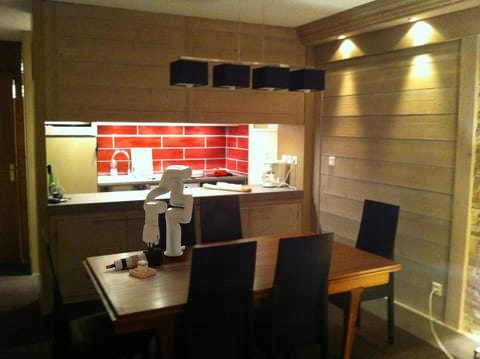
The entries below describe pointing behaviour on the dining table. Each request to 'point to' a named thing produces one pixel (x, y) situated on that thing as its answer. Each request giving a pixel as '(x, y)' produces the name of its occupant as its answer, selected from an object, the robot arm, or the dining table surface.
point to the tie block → (142, 266)
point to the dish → (135, 273)
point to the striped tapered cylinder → (133, 260)
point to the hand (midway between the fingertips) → (151, 252)
